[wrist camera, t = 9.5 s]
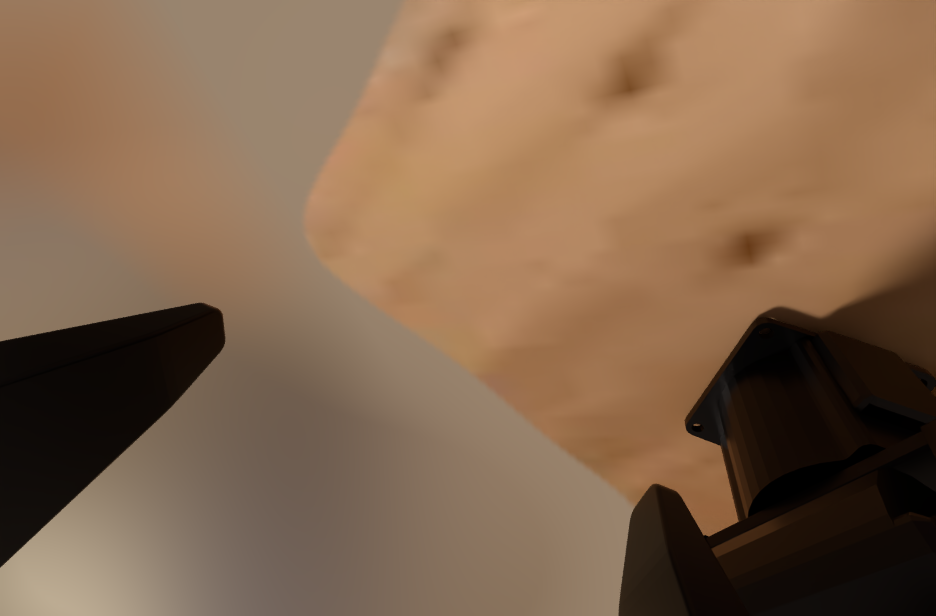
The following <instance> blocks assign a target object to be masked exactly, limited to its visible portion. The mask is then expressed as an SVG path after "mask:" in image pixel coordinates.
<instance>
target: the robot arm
mask: <svg viewBox="0 0 936 616" xmlns="http://www.w3.org/2000/svg"><path fill="white" fill-rule="evenodd" d="M764 328H771V331H770V332H768V333H766V334H760V333H759V332H760V331H761V330H762V329H764ZM224 344H225V331H224V322H223V314H222V312H221V311H220V310H219V309H218V308H215V307H213V306H210V305H208V304H205V303H195V304H190V305H185V306H180V307H175V308H169V309H164V310H159V311H154V312H149V313H144V314H138V315H133V316H128V317H123V318H118V319H113V320H108V321H102V322H97V323H92V324H87V325H82V326H77V327H72V328H67V329H62V330H56V331H51V332H46V333H41V334H36V335H31V336H26V337H21V338H15V339H10V340H5V341H0V567H1V566H3V565H4V564H5V563H6V562H7V561H8V560H9V559H10V558H11V557H12V556H13V555H14V554H15V553H16V552H17V551H19V550H20V549H21V548H22V547H23V546H24V545H25V544H26V543H27V542H28V541H29V540H30V539H31V538H32V537H33V536H35V535H36V534H37V533H38V532H39V531H40V530H41V529H42V528H43V527H44V526H45V525H46V524H47V523H48V522H49V521H51V520H52V519H53V518H54V517H55V516H56V515H57V514H58V513H59V512H60V511H61V510H62V509H63V508H64V507H66V506H67V504H69V503H70V502H71V501H72V500H73V499H74V498H75V497H76V496H77V495H78V494H79V493H80V492H81V491H83V490H84V489H85V488H86V487H87V486H88V485H89V484H90V483H91V482H92V481H93V480H94V479H95V478H96V477H98V476H99V475H100V474H101V473H102V472H103V471H104V470H105V469H106V468H107V467H108V466H109V465H110V464H111V463H112V462H113V461H114V460H116V459H117V458H118V457H119V456H120V455H121V454H122V453H123V452H124V451H125V450H126V449H127V448H128V447H130V446H131V445H132V444H133V443H134V442H135V441H136V440H137V439H138V438H139V437H140V436H141V435H142V434H143V433H144V432H146V430H148V429H149V428H150V427H151V426H152V425H153V424H154V423H155V422H156V421H157V420H158V419H159V418H160V417H161V416H163V415H164V414H165V413H166V412H167V411H168V410H169V409H170V408H171V407H172V406H173V405H174V403H175V402H176V401H177V400H178V399H179V398H180V397H181V396H182V395H183V394H184V393H185V391H186V390H187V389H188V388H189V387H190V386H191V385H192V383H193V382H194V381H195V380H196V379H197V378H198V377H199V376H200V374H201V373H202V372H203V371H204V370H205V369H206V368H207V366H208V365H209V364H210V363H211V362H212V361H213V359H215V357H216V356H217V355H218V354H219V353H220V352H221V350H222V348H223V347H224ZM920 379H921V380H920ZM935 386H936V380H935V378H934V377H933V376H932V375H931V374H930V373H929V372H928V371H927V370H925V369H923V368H921V367H918V366H915V365H912V364H908V363H905V362H903V361H902V359H901V358H900V357H899V356H898V355H897V354H896V353H894V352H891V351H888V350H885V349H882V348H879V347H876V346H873V345H870V344H867V343H864V342H861V341H857V340H854V339H851V338H848V337H845V336H842V335H839V334H836V333H833V332H830V331H822V332H817V333H814V332H811V331H808V330H805V329H802V328H799V327H796V326H793V325H790V324H787V323H784V322H781V321H778V320H775V319H772V318H766V317H765V318H759V319H757V320H755V321H754V322H753V323H752V324H751V325H750V326H749V328H748V329H747V331H746V332H745V334H744V335H743V336H742V338H741V339H740V341H739V342H738V344H737V345H736V346H735V348H734V349H733V351H732V352H731V354H730V355H729V357H728V358H727V359H726V361H725V362H724V364H723V365H722V367H721V368H720V369H719V371H718V372H717V374H716V375H715V377H714V378H713V380H712V381H711V382H710V384H709V385H708V387H707V388H706V390H705V391H704V392H703V394H702V395H701V397H700V398H699V400H698V401H697V403H696V404H695V405H694V407H693V408H692V410H691V411H690V413H689V414H688V415H687V417H686V419H685V426H686V430H687V431H688V433H690V434H692V435H694V436H696V437H699V438H702V439H704V440H707V441H710V442H712V443H715V444H718V445H720V446H721V449H722V453H723V457H724V462H725V466H726V470H727V474H728V478H729V483H730V487H731V491H732V495H733V499H734V504H735V508H736V512H737V516H738V520H739V522H737V523H735V524H733V525H731V526H729V527H727V528H725V529H723V530H721V531H719V532H717V533H715V534H713V535H711V536H709V537H708V536H706V535H704V536H703V534H702V532H701V530H700V529H699V527H698V525H697V524H696V522H695V520H694V518H693V517H692V515H691V513H690V511H689V510H688V508H687V506H686V505H685V503H684V501H683V499H682V498H681V496H680V495H679V494H678V493H677V492H676V491H674V490H672V489H669V488H667V487H664V486H662V485H659V484H653V485H651V486H650V487H649V489H648V490H647V491H646V493H645V494H644V496H643V497H642V498H641V500H640V501H639V502H638V504H637V505H636V506H635V508H634V510H633V512H632V515H631V518H630V524H629V532H628V539H627V547H626V555H625V562H624V570H623V577H622V584H621V592H620V601H619V616H936V397H935V396H934V395H933V394H932V393H931V391H932V390H933V389H934V387H935ZM697 423H698V424H701V425H700V426H694V424H697Z"/></svg>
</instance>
